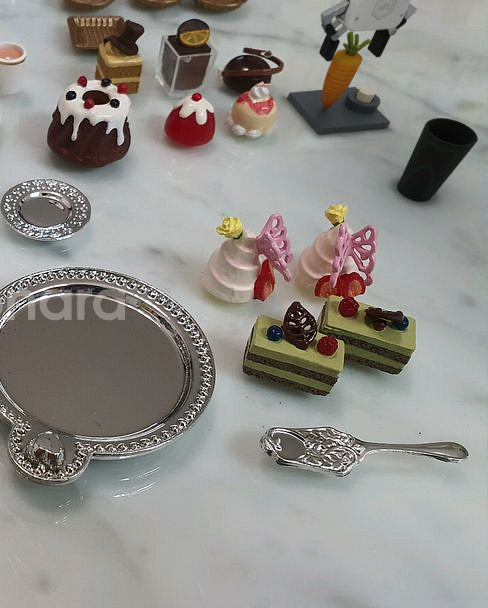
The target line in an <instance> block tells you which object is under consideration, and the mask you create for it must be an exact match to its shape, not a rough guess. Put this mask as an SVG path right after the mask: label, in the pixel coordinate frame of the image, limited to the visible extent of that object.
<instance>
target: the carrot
mask: <svg viewBox="0 0 488 608" xmlns="http://www.w3.org/2000/svg"><path fill="white" fill-rule="evenodd" d="M346 39H347V43H346V42H344V43H342V46H343V47H344V49H339V50H338V49H337V50H336V52H335V55H334V57H333V59H332V60H331V61H330V64H329V67H328V69H327V71H326V74H325V77H324V80H323V85H322V89H321V90H322V105H323V107H324V109H327V108H329V107H331V106H332V105H333V104H334V103H336V102H337V101H338V100H339V99H340V97H341V96H342V95H343V94H344V92H345V91H346V89H347V88H348V87H350V85H351V83H352V81H353V79H354V78H355V76H356V74H357V72H358V70H359V68H360V66H361V65H362V62H363V56H362V55H361V54H360V53H359V52H360V51H361V50H362V49H363V48H365V47H367V46H369V44H370V43H371V39H370V38H367V39H365V40H363V41H362V42H361V43H360V34H359V33H355V34H354V31H349V32H348V31H347V33H346ZM359 43H360V44H359Z"/></svg>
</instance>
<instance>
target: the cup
mask: <svg viewBox="0 0 488 608" xmlns="http://www.w3.org/2000/svg"><path fill="white" fill-rule="evenodd" d="M478 140H479V137H478V134H477V133H476V131H475V130H474V129H472V128H471V126H469V125H467V124H465V123H463V122H461V121H458V120H456V119H452V118H448V117H447V118H446V117H436V118H431V119H429V120H427V121H426V122H425V124H424V125H423V128H422V131H421V133H420V135H419V137H418V139H417V141H416V142H415V143H416V144H415V146H414V148H413V150H412V153H411V155H410V157H409V158H408V161H407V163H406V166H405V168H404V170H403V172H402V174H401V177H400V178H399V181H398V182H397V185H396V187H397V191H398V192H399V193H400V194H401V195H402V196H403V197H405V198H406V199H408V200H411V201H414V202H419V203H425V202H429V201H431V200H432V199H433V197H434V196H435V195H436V193H437V192H438V191H439V190H440V189H441V187H443V185H444V183H445V182H446V181H447V180H448V179H449V178H450V177H451V175H452V174H453V173H454V171H455V170H456V169H457V167H459V165H460V164H461V163H462V161H463V160H464V159H465V157H466V156H467V155H468V154H469V153H470V151H471V150H472V149H473V147H475V146H476V144H477V142H478Z"/></svg>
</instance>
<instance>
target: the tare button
mask: <svg viewBox="0 0 488 608" xmlns="http://www.w3.org/2000/svg"><path fill="white" fill-rule="evenodd" d="M358 89H359V91H358V93H357V95H356V99H357V100H359V101H361V102H365V103H370V102H371V101H372V99H373V97H374V95H375V94H376V90H375V89H374V88H371V87H369V86H362V87H360V88H358Z"/></svg>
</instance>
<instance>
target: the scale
mask: <svg viewBox="0 0 488 608" xmlns="http://www.w3.org/2000/svg"><path fill="white" fill-rule="evenodd" d="M359 89H360V88H357V87H356V86H348V88H347V89H346V91H345V92H344V94H343V95H342V96H341V97H340V99H339V100H338V101H337V102H336V103H334V104H333V105H332V106H331V107H329V108H327V109H324V107H323V105H322V89H315V90H313V89H312V90H303V91H292V92H291V91H290V92H289V93H288V95H287V97H286V99H287V101H288V103H290V105H292V106H293V108H294V109H295V110H296V111H297V112H298V114H300V116H301V117H302V118H303V119H304V120H305V122H306V123H307V124H309V126H310V127H311V128H312V129H313V130H314V132H315V133H316V134H317V135H318V136H322V135H323V136H324V135H334V134H341V133H352V132H353V133H354V132H364V131H372V130H381V129H388V127H389V126H390V123H391V121H390V120H389V119H388V118H387V117H386V116H385V115H384V114H383V113H382V112H381V111H380V109H378V108H379V107H380V104H381V98H380V97H379V96H378V95H377V94H376V93H375V95H374V97H373V99H372V101H371V102H370V103H365V102H361V101H359V100H357V99H356V95H357V93H358V91H359Z"/></svg>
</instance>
